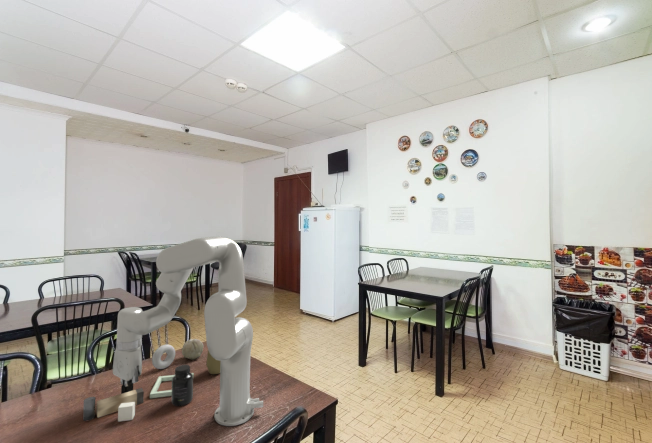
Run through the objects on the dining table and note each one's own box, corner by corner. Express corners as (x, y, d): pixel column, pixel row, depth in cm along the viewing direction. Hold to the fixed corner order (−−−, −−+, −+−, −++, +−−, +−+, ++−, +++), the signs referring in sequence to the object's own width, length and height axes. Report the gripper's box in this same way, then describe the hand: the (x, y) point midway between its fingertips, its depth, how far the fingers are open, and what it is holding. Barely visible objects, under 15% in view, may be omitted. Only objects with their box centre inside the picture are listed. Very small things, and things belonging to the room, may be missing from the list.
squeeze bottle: (219, 377, 127) (220, 333, 127) (202, 374, 128) (202, 331, 128) (229, 368, 135) (230, 326, 135) (212, 365, 136) (213, 325, 136)
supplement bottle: (173, 397, 112) (173, 364, 112) (193, 394, 114) (194, 362, 114) (169, 408, 105) (170, 373, 105) (191, 405, 107) (192, 370, 107)
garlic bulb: (202, 361, 145) (210, 342, 145) (187, 366, 138) (195, 345, 138) (189, 351, 150) (197, 332, 150) (174, 355, 142) (182, 334, 142)
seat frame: (193, 376, 127) (193, 372, 127) (188, 393, 114) (188, 389, 114) (158, 380, 123) (158, 376, 123) (149, 398, 111) (149, 394, 111)
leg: (97, 417, 100) (97, 405, 100) (96, 413, 102) (96, 401, 102) (143, 402, 108) (143, 391, 108) (141, 398, 111) (141, 387, 111)
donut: (172, 362, 139) (172, 340, 139) (176, 364, 137) (177, 342, 137) (149, 371, 130) (150, 348, 130) (154, 374, 128) (155, 350, 128)
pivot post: (96, 414, 101) (97, 396, 101) (92, 420, 99) (92, 401, 99) (86, 415, 101) (86, 397, 101) (81, 421, 98) (81, 402, 98)
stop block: (134, 415, 101) (135, 401, 101) (132, 419, 99) (132, 406, 99) (120, 416, 100) (121, 403, 100) (118, 421, 98) (118, 407, 98)
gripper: (105, 342, 109) (103, 393, 110) (130, 352, 102) (128, 407, 103) (127, 335, 116) (125, 384, 116) (152, 344, 109) (150, 396, 109)
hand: (127, 395), depth 109 cm, fingers closed
